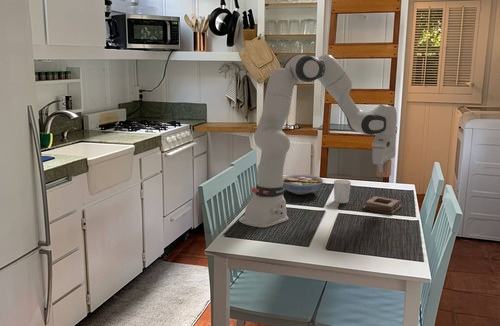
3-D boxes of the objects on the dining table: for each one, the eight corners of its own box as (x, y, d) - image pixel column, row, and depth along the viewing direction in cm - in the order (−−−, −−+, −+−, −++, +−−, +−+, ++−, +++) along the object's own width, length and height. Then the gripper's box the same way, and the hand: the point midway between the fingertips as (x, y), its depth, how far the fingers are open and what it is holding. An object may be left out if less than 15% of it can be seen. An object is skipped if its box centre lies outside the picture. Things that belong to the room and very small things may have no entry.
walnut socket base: (392, 215, 211) (392, 207, 211) (362, 209, 219) (362, 202, 218) (401, 207, 223) (402, 200, 222) (373, 202, 230) (373, 195, 230)
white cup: (348, 199, 235) (349, 179, 233) (350, 204, 227) (351, 183, 225) (332, 198, 235) (333, 179, 233) (333, 203, 228) (334, 183, 226)
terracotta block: (387, 177, 213) (387, 162, 212) (376, 176, 216) (377, 160, 215) (390, 175, 217) (391, 160, 216) (380, 173, 220) (380, 159, 219)
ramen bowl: (325, 188, 254) (325, 173, 252) (325, 200, 232) (326, 184, 230) (278, 186, 258) (278, 171, 256) (274, 198, 235) (274, 182, 234)
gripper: (386, 136, 223) (384, 165, 226) (370, 143, 207) (368, 174, 210) (399, 138, 220) (397, 167, 223) (384, 144, 204) (382, 176, 207)
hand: (383, 170), depth 216 cm, fingers closed on terracotta block, 5 cm apart
